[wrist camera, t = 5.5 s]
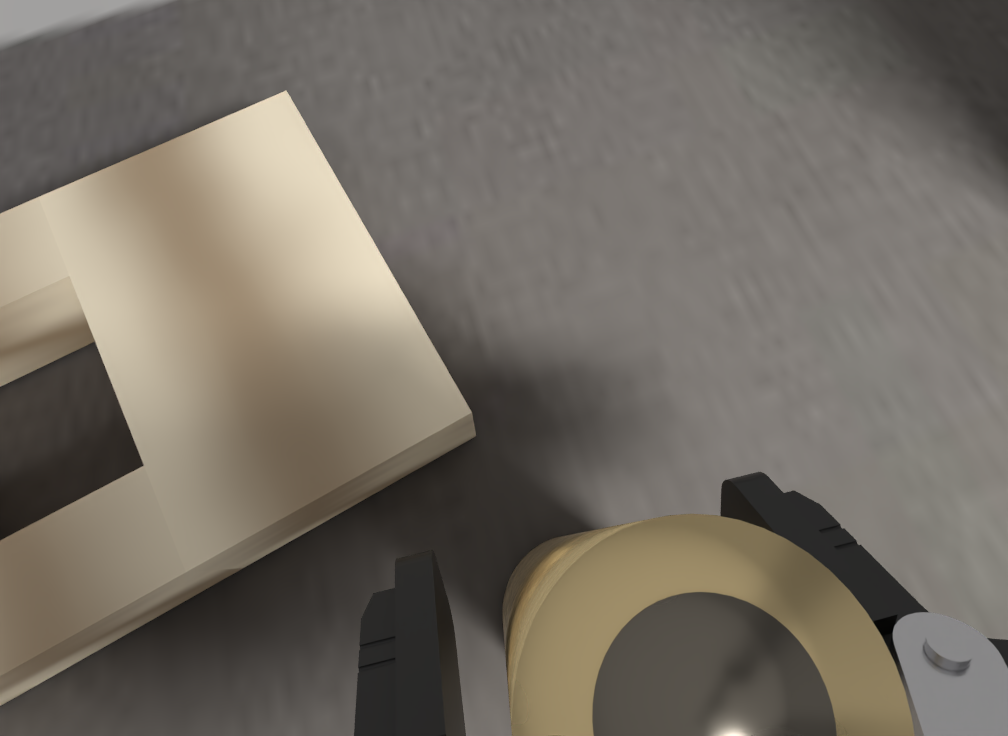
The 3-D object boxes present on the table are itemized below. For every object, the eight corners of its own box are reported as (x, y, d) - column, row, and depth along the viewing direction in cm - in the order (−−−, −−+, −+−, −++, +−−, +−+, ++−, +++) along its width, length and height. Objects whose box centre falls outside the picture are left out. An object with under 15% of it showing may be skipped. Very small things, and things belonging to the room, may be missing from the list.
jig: (317, 157, 19) (286, 90, 17) (476, 435, 17) (471, 412, 14) (-331, 452, 16) (-509, 431, 13) (-270, 859, 13) (-479, 944, 11)
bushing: (599, 507, 16) (751, 446, 6) (682, 643, 15) (1009, 809, 5) (475, 584, 15) (440, 642, 6) (552, 731, 14) (664, 1095, 5)
